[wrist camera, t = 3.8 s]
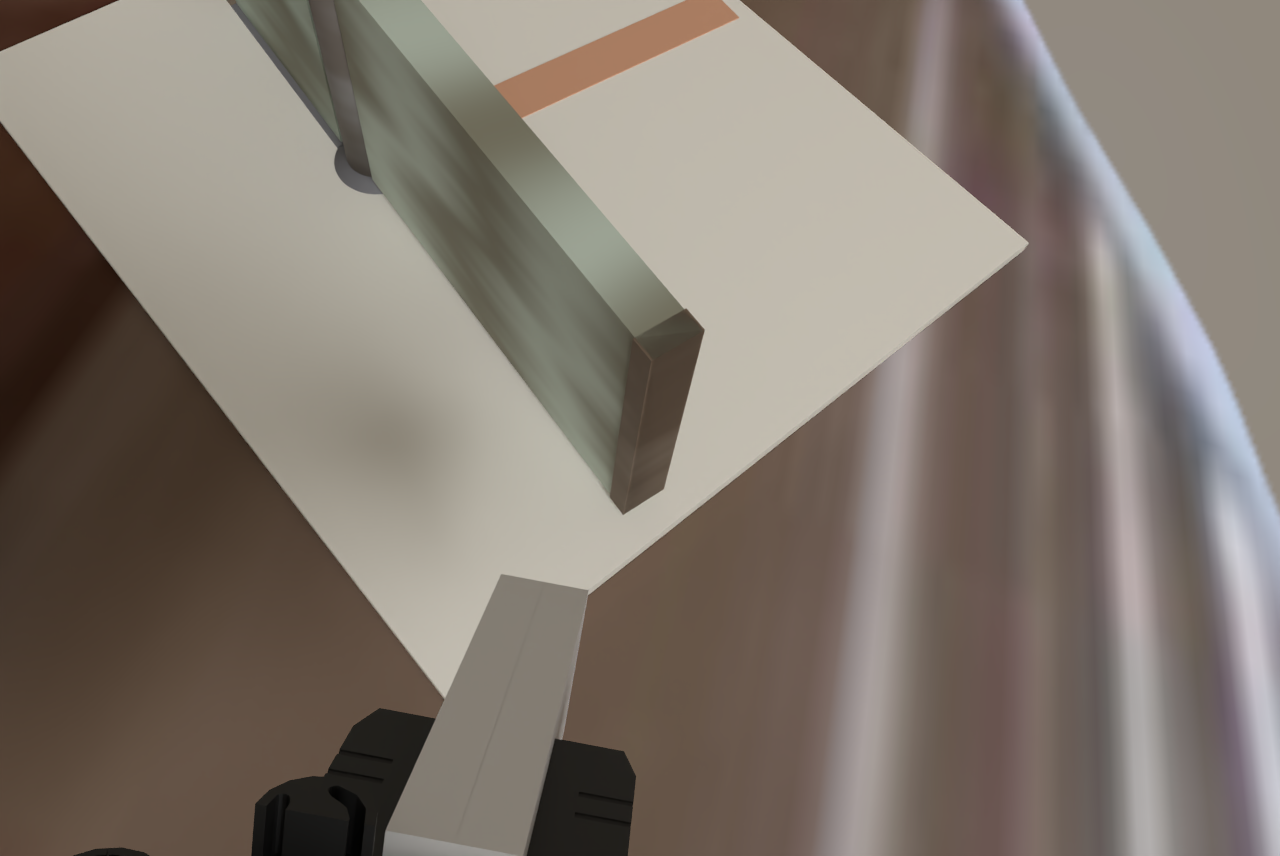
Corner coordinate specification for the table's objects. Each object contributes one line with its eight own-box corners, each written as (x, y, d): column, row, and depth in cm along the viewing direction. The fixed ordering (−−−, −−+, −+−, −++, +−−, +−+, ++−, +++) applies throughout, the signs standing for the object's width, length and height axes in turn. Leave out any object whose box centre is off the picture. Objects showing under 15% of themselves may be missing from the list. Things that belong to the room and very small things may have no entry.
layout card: (-34, 78, 32) (-41, 67, 32) (528, -167, 40) (528, -178, 39) (448, 705, 24) (447, 701, 24) (1023, 250, 32) (1029, 241, 32)
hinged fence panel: (335, 146, 31) (278, -80, 24) (388, 122, 32) (347, -104, 25) (615, 520, 26) (640, 367, 20) (671, 484, 27) (714, 323, 20)
